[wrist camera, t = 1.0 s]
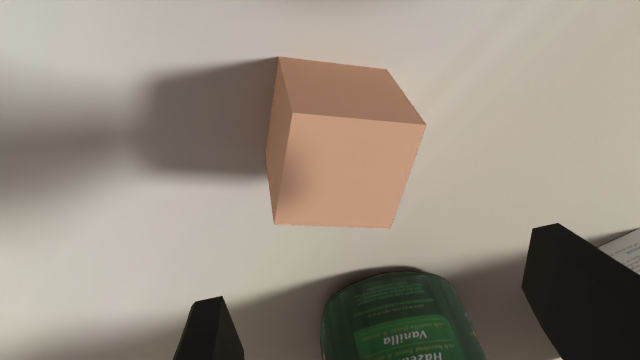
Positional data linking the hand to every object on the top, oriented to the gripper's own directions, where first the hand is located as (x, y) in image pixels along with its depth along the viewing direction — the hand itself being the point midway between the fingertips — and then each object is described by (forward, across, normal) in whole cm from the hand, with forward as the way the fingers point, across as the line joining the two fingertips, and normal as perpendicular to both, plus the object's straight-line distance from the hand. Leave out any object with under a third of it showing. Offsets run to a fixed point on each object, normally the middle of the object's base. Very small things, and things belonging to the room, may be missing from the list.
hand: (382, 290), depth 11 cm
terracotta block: (+10, 0, 0) cm, 10 cm away
